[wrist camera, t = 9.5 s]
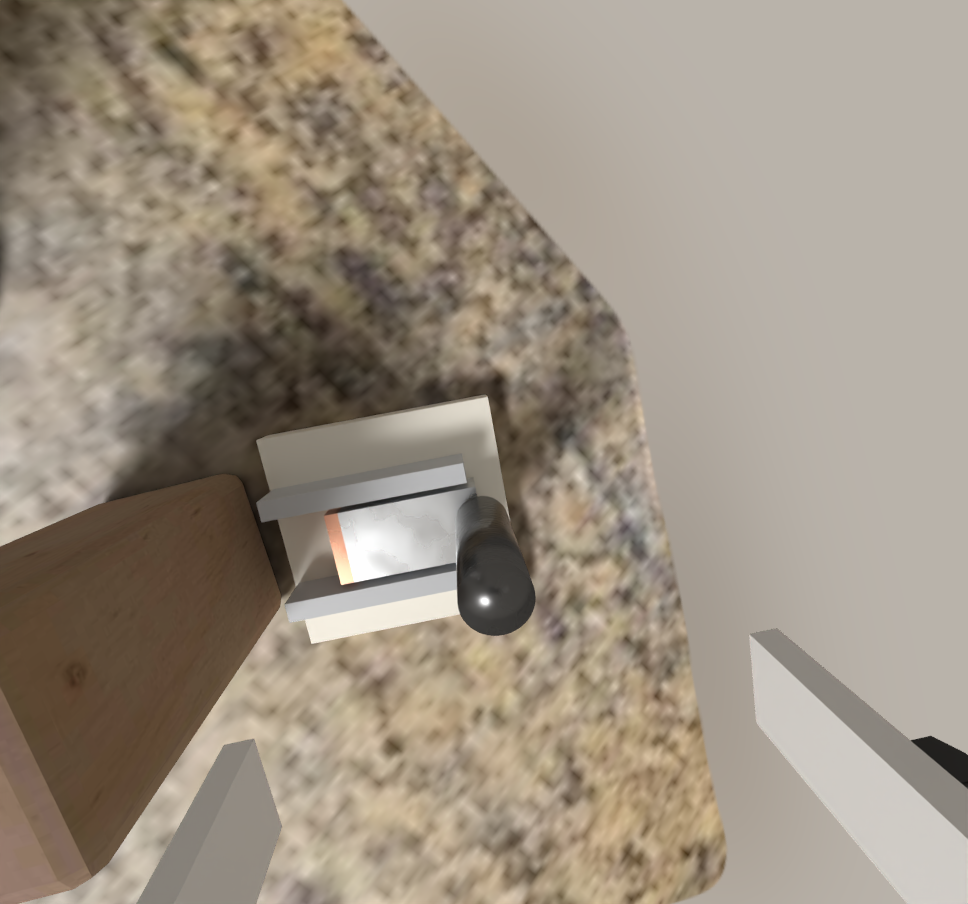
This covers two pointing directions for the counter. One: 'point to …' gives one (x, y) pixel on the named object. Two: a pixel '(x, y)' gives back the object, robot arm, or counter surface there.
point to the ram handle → (440, 549)
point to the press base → (363, 478)
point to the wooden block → (116, 666)
